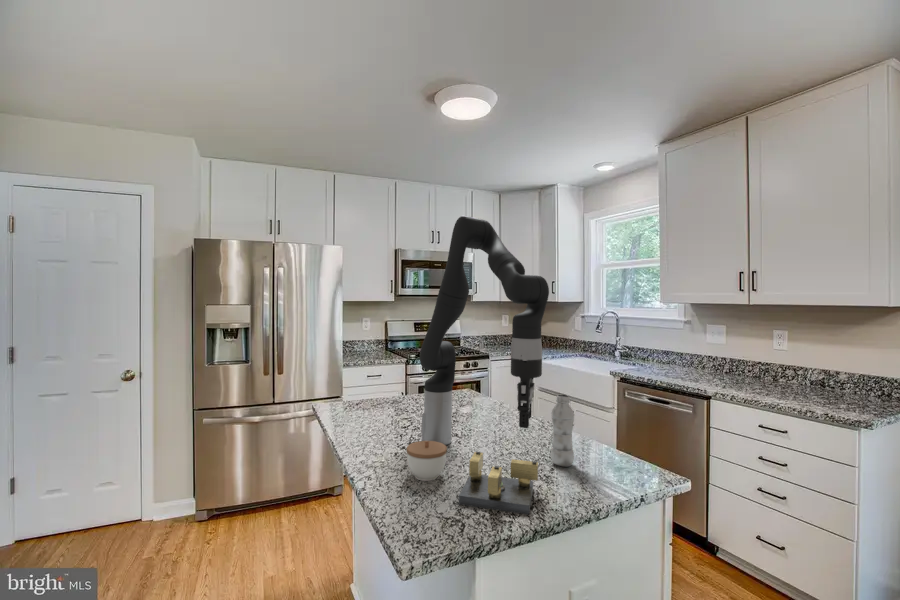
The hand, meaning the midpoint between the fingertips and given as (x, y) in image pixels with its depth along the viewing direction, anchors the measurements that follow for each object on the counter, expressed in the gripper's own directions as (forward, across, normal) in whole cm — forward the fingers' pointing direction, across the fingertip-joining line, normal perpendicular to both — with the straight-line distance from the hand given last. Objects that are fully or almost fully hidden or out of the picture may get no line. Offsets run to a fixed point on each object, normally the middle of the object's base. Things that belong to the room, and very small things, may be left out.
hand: (525, 422), depth 103 cm
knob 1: (+15, 0, -12) cm, 20 cm away
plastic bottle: (+18, -22, +9) cm, 29 cm away
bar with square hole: (+15, +8, -6) cm, 18 cm away
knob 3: (+15, 0, 0) cm, 15 cm away
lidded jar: (+18, -2, -26) cm, 32 cm away
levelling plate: (+17, +4, -6) cm, 19 cm away
